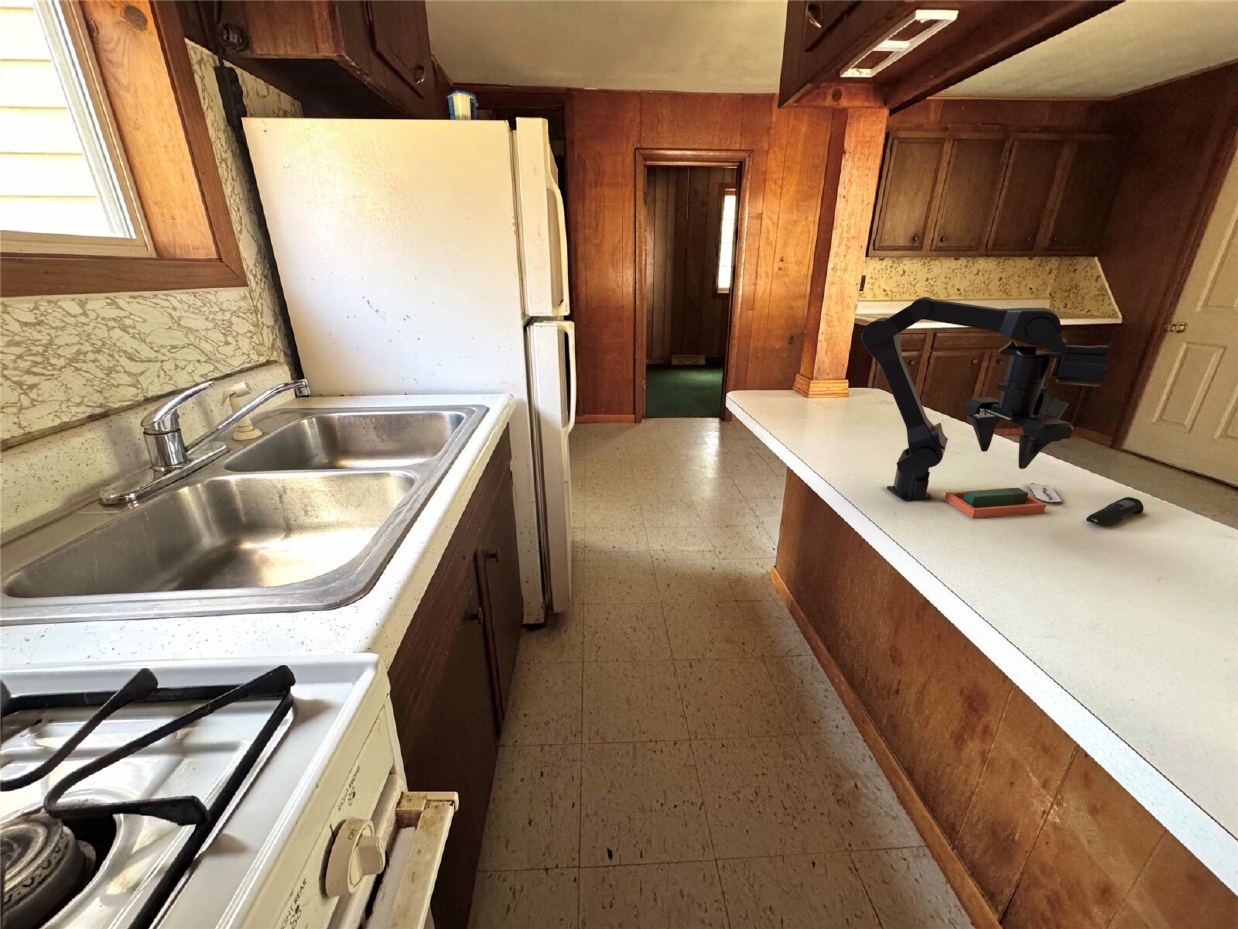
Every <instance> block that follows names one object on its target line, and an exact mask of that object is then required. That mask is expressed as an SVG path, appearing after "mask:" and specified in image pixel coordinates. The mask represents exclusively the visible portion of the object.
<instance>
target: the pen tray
mask: <svg viewBox="0 0 1238 929" xmlns="http://www.w3.org/2000/svg"><path fill="white" fill-rule="evenodd" d="M1007 488H1008V487H1005V488H1003V489H1007ZM992 489H993V488H992ZM992 489H989V490H992ZM978 490H979V489H977V490H975V491H978ZM965 491H966V490H963V491H949V492H948V491H947V492H945V496H944V501H945V502H946V503H948V504H950V505H951V506H952V507H954V508H956V509H958V510H959V511H961V512H962V513H963V514H965V515H967V517H970V519H978V518H991V517H992V518H993V517H1005V516H1006V517H1007V516H1019V515H1032V514H1045V511H1046V507H1047V504H1046V503H1045V502H1043V501H1041V500H1038V499H1036V498H1034V497H1033V496H1031V495H1029V494H1028V497H1027V500H1026V503H1025V504H1022V505H1010V506H996V507H983V508H974V507H972V506H971V505H969V504H968V503H966V502H964V501H963V498H964V494H965Z"/></svg>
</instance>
